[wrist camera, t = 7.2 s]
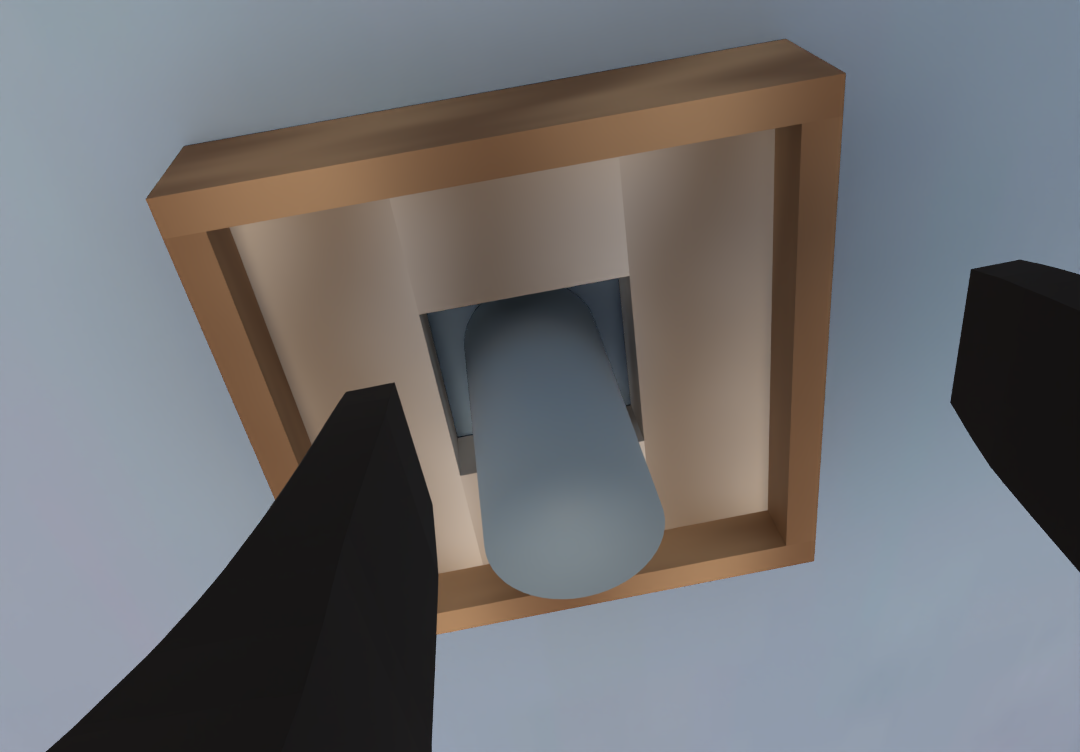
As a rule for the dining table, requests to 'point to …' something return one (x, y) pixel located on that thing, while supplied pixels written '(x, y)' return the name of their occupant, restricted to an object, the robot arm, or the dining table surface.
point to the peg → (555, 451)
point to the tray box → (545, 285)
